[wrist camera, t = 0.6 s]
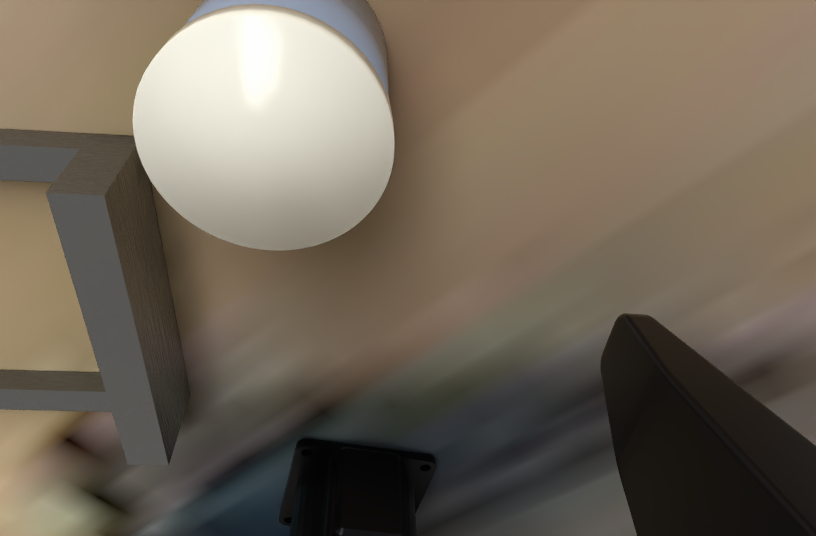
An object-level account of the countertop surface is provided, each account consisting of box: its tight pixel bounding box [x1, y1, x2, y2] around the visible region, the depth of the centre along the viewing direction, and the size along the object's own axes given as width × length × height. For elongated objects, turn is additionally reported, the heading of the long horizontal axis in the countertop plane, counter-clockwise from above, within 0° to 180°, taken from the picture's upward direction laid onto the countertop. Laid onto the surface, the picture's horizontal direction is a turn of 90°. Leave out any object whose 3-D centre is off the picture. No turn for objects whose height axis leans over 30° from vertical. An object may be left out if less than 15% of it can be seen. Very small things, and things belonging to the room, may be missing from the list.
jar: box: [133, 0, 395, 251], centre depth 17 cm, size 6×6×5 cm
